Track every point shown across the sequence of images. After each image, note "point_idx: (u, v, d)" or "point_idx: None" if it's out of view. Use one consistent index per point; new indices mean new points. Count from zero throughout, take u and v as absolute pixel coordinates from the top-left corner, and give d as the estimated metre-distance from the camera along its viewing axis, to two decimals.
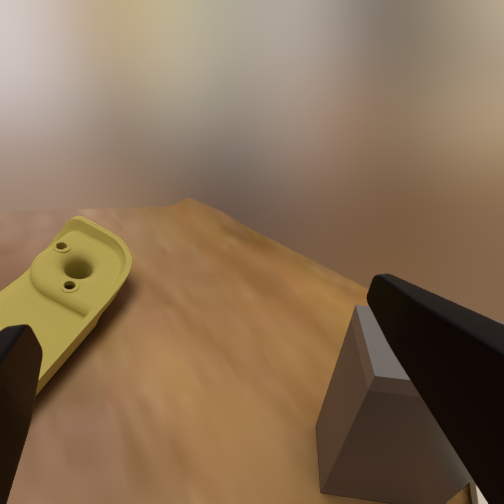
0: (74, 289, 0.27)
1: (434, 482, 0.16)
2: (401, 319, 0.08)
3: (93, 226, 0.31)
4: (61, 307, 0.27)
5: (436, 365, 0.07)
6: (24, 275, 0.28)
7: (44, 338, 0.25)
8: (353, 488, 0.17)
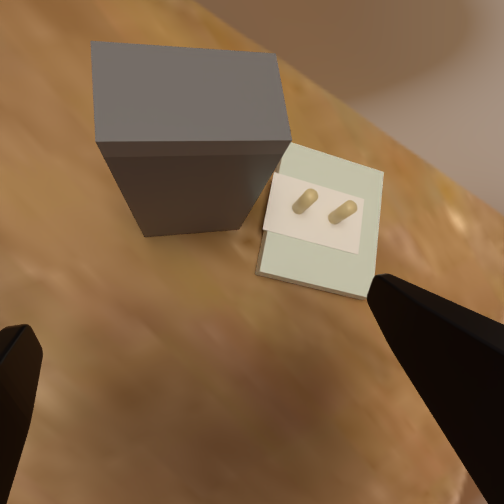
0: None
1: (224, 215, 0.19)
2: (401, 319, 0.08)
3: None
4: None
5: (436, 365, 0.07)
6: None
7: None
8: (167, 229, 0.20)
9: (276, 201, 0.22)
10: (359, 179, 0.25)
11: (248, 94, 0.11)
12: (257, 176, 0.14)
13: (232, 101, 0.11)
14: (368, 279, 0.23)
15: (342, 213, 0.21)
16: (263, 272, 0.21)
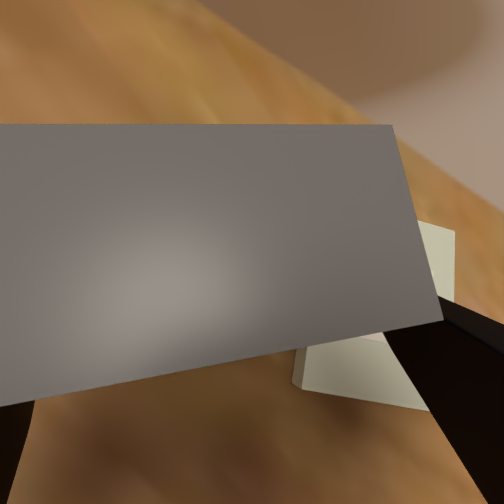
0: None
1: None
2: None
3: None
4: None
5: (436, 365, 0.07)
6: None
7: None
8: None
9: None
10: (425, 242, 0.18)
11: (349, 221, 0.05)
12: None
13: (319, 243, 0.05)
14: None
15: None
16: None
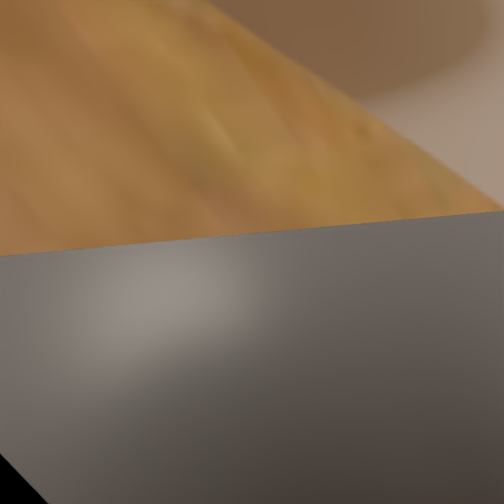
0: None
1: None
2: None
3: None
4: None
5: None
6: None
7: None
8: None
9: None
10: None
11: None
12: None
13: (470, 460, 0.03)
14: None
15: None
16: None
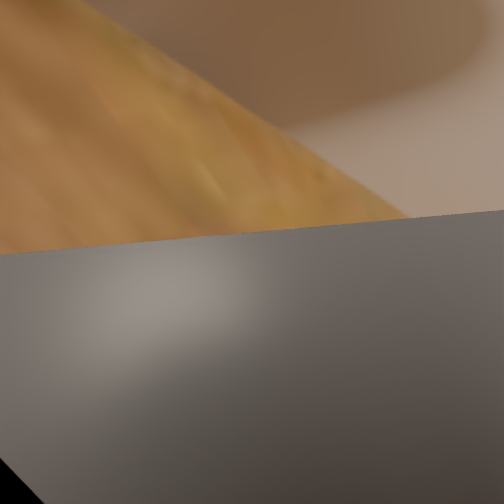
0: None
1: None
2: None
3: None
4: None
5: None
6: None
7: None
8: None
9: None
10: None
11: None
12: None
13: (469, 458, 0.03)
14: None
15: None
16: None
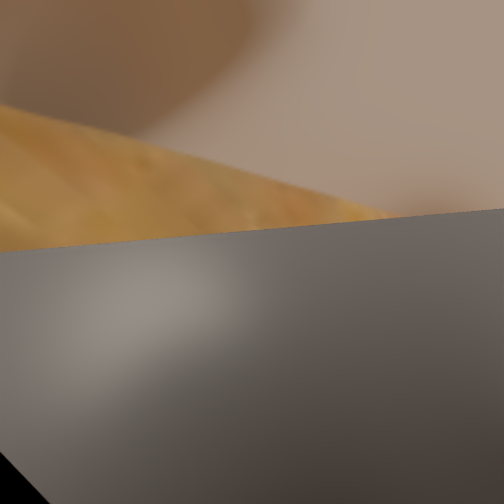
0: None
1: None
2: None
3: None
4: None
5: None
6: None
7: None
8: None
9: None
10: None
11: None
12: None
13: (469, 457, 0.03)
14: None
15: None
16: None
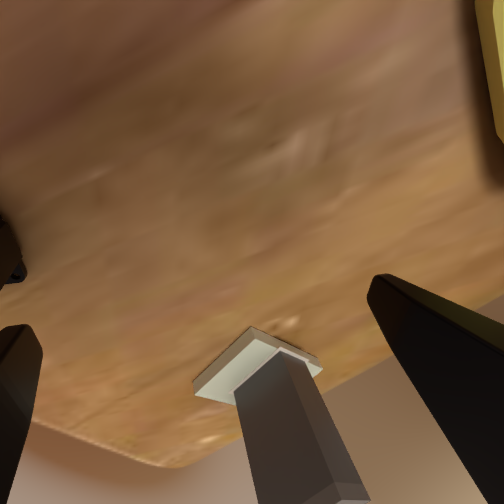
0: None
1: (252, 418, 0.27)
2: (401, 319, 0.08)
3: None
4: None
5: (436, 365, 0.07)
6: None
7: None
8: (272, 372, 0.28)
9: None
10: None
11: None
12: (262, 492, 0.23)
13: None
14: (208, 395, 0.30)
15: None
16: (252, 339, 0.27)
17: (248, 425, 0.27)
